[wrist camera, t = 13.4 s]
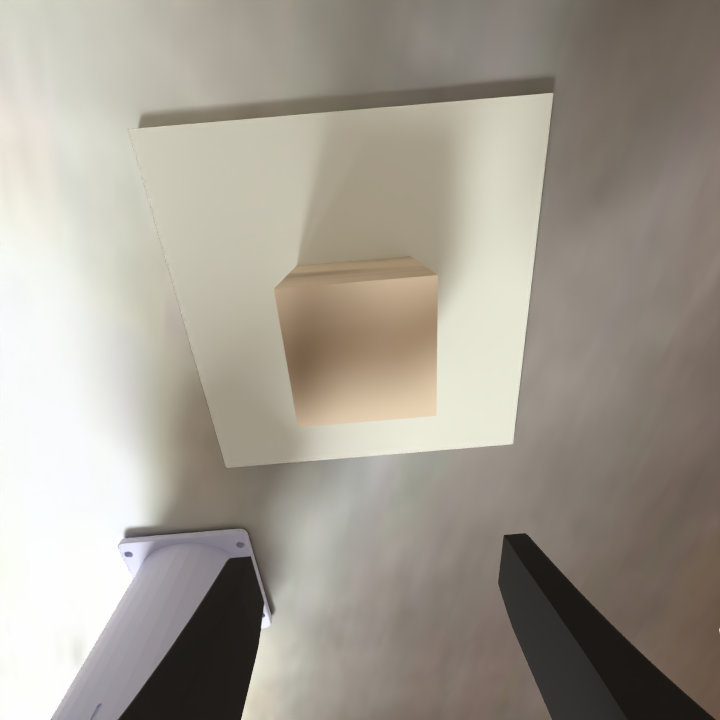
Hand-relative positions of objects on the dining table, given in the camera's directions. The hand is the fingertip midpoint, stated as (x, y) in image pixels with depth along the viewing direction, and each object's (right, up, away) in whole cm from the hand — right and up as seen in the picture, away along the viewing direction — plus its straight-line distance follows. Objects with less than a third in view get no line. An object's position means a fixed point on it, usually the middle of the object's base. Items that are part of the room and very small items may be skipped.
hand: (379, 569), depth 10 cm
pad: (-1, +8, +7) cm, 11 cm away
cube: (-1, +8, +6) cm, 10 cm away
